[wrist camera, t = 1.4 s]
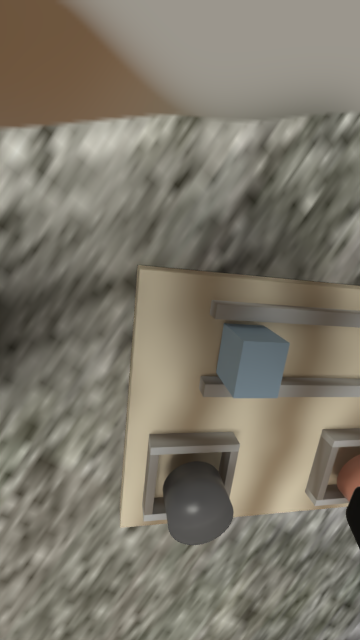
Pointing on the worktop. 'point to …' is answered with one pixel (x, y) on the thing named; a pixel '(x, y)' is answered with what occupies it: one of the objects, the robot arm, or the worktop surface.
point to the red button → (349, 477)
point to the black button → (196, 503)
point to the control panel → (240, 413)
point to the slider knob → (251, 361)
